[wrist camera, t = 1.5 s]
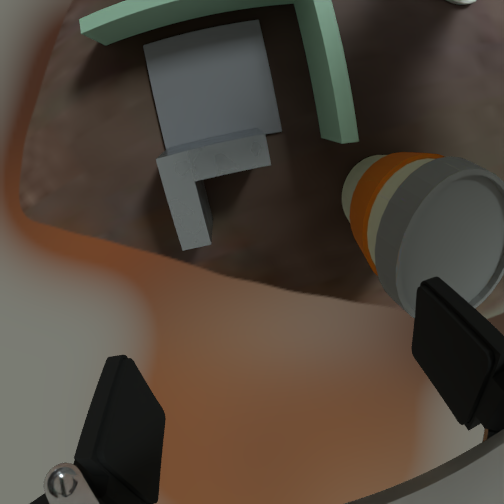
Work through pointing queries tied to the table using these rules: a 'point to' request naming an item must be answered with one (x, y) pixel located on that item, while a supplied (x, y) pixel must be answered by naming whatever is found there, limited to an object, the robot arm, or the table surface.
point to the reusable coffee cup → (427, 223)
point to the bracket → (205, 177)
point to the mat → (212, 83)
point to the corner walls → (208, 3)
